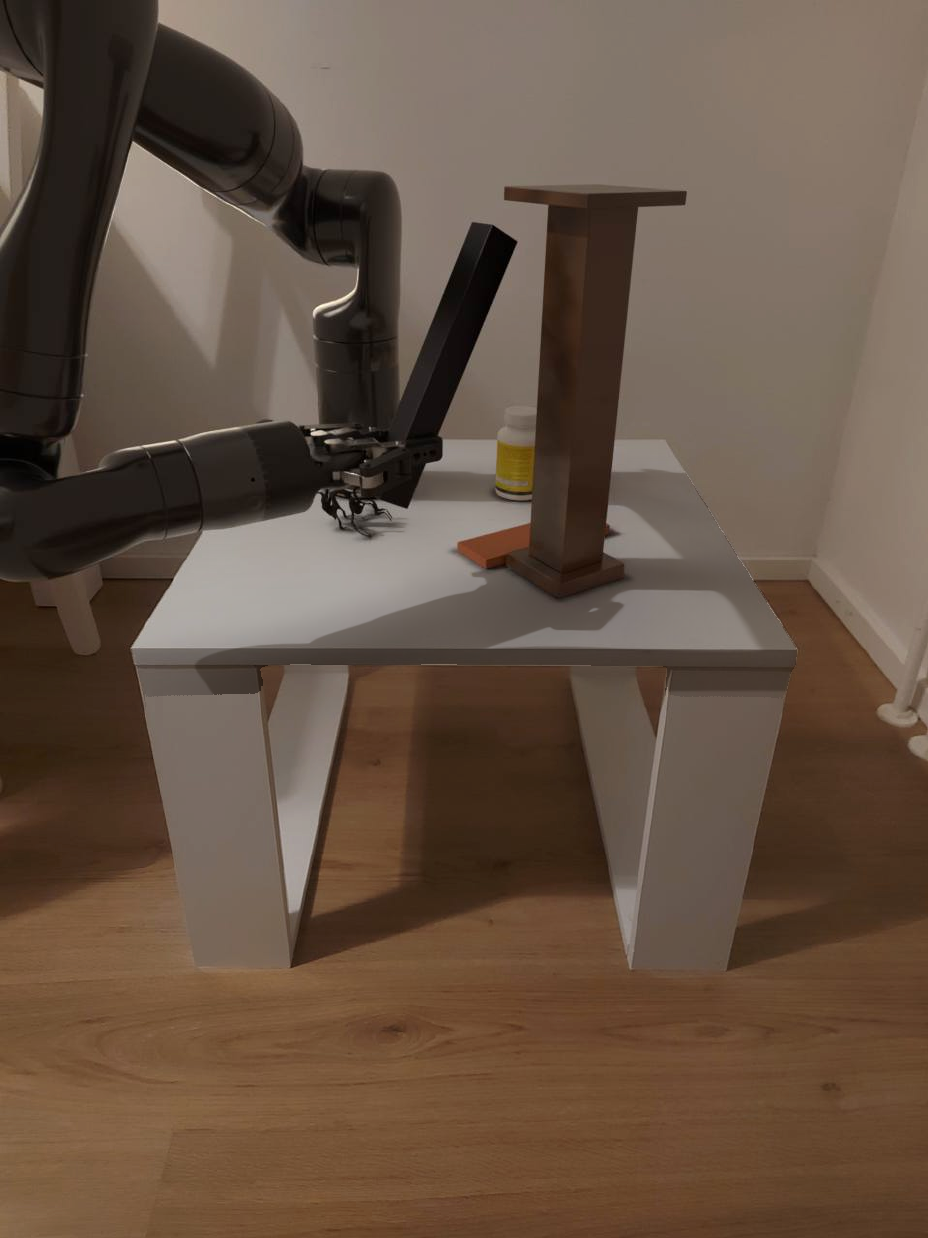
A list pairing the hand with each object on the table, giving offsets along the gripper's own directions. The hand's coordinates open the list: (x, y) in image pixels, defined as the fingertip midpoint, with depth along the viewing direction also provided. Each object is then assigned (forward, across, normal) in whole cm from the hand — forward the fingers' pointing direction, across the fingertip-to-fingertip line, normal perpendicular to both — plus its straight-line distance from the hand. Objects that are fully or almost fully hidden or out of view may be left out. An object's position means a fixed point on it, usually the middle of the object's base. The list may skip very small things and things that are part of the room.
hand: (428, 441), depth 77 cm
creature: (0, +14, +13) cm, 19 cm away
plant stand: (+11, -7, +13) cm, 18 cm away
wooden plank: (+13, 0, +13) cm, 18 cm away
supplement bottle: (+20, +12, +13) cm, 27 cm away
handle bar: (+1, +2, -6) cm, 6 cm away
